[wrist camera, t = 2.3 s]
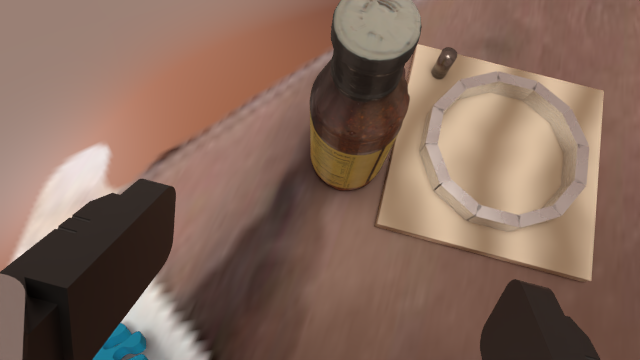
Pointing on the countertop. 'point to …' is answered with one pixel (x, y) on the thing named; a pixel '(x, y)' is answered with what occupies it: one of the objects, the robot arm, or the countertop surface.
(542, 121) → the maple board
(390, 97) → the sauce bottle
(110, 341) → the teal virus model
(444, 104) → the white segmented ring
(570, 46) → the countertop surface
